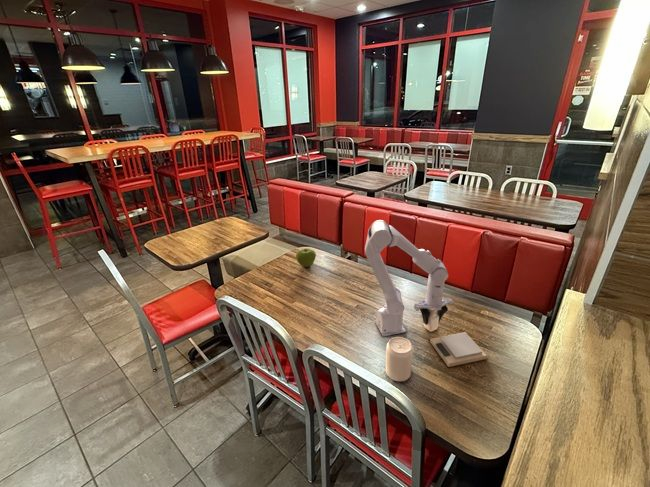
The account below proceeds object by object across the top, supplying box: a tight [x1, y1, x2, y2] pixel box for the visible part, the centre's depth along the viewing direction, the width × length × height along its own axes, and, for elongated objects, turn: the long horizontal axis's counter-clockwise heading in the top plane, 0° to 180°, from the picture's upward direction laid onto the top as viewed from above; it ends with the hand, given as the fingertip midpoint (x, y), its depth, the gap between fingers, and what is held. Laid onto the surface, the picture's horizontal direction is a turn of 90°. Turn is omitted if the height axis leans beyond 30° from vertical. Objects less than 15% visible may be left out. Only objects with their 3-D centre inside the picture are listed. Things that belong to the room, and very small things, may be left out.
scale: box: [429, 331, 488, 368], centre depth 109 cm, size 14×12×3 cm
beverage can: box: [385, 336, 414, 382], centre depth 99 cm, size 8×8×12 cm
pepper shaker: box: [423, 309, 440, 332], centre depth 118 cm, size 4×4×10 cm
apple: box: [295, 247, 317, 268], centre depth 168 cm, size 11×10×10 cm
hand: (431, 321), depth 119 cm, fingers closed on pepper shaker, 4 cm apart
